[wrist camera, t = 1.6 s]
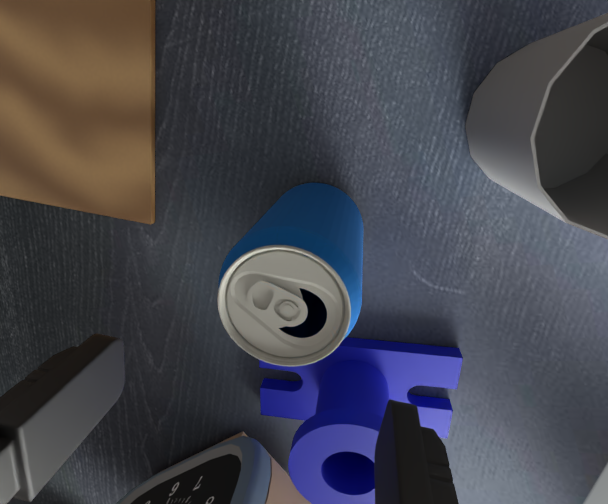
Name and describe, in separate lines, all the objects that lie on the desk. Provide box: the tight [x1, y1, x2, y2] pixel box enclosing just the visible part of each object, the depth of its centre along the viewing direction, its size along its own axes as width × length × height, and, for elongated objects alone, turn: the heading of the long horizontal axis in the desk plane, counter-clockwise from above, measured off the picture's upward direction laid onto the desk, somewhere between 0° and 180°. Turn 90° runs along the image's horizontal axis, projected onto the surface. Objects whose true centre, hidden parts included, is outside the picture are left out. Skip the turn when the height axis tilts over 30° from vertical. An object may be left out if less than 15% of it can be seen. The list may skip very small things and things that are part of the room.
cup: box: [465, 13, 608, 239], centre depth 18 cm, size 8×8×10 cm
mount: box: [259, 337, 463, 504], centre depth 27 cm, size 15×8×9 cm, turn 89°
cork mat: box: [0, 0, 155, 224], centre depth 26 cm, size 16×14×1 cm
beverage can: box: [217, 183, 363, 366], centre depth 21 cm, size 6×6×12 cm
